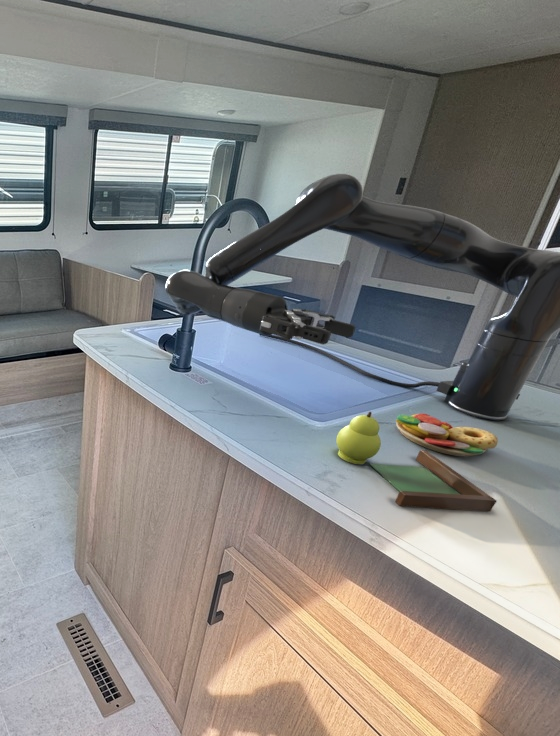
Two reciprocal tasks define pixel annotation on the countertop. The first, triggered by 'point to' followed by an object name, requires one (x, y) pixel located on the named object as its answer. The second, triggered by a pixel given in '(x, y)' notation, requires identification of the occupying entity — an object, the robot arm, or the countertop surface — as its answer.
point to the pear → (359, 439)
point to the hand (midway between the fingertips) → (341, 335)
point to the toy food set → (445, 435)
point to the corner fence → (434, 486)
